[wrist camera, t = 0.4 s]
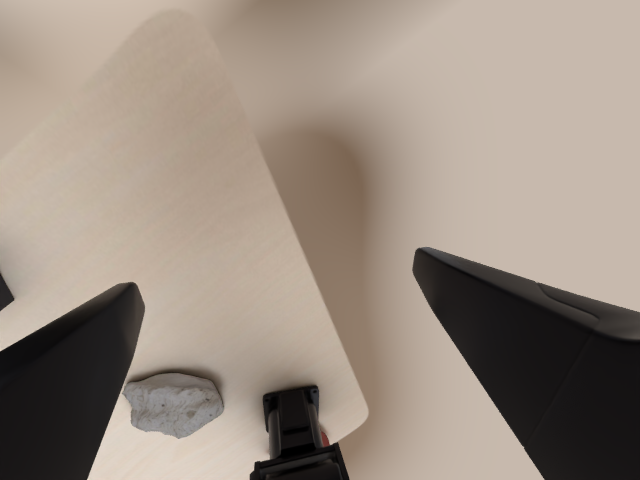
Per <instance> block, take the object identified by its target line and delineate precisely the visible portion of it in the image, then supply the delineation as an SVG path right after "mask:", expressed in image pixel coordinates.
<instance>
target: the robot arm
mask: <svg viewBox="0 0 640 480" xmlns="http://www.w3.org/2000/svg"><path fill="white" fill-rule="evenodd" d="M413 274H414V276H415V278H416V281H417V282H418V284H419V286H420V288H421V290H422V292H423V294H424V296H425V298H426V300H427V302H428V304H429V305H430V307H431V309H432V311H433V312H434V314H435V315H436V317H437V318H438V320H439V321H440V323H441V324H442V326H443V327H444V329H445V330H446V332H447V333H448V335H449V336H450V338H451V339H452V341H453V342H454V344H455V345H456V347H457V348H458V350H459V351H460V353H461V354H462V356H463V357H464V359H465V360H466V362H467V363H468V365H469V366H470V368H471V369H472V371H473V372H474V374H475V375H476V377H477V378H478V380H479V381H480V383H481V385H482V386H483V387H484V389H485V390H486V392H487V393H488V395H489V397H490V398H491V399H492V401H493V402H494V404H495V406H496V407H497V408H498V410H499V412H500V413H501V415H502V416H503V418H504V419H505V421H506V422H507V424H508V425H509V427H510V428H511V429H512V431H513V432H514V434H515V436H516V437H517V438H518V440H519V442H520V443H521V445H522V446H523V447H524V449H525V451H526V452H527V454H528V455H529V457H530V458H531V460H532V461H533V463H534V464H535V466H536V467H537V469H538V470H539V472H540V473H541V475H542V476H543V478H544V479H545V480H640V312H637V311H633V310H630V309H626V308H623V307H619V306H615V305H612V304H608V303H605V302H601V301H598V300H594V299H591V298H587V297H584V296H580V295H577V294H574V293H570V292H567V291H564V290H561V289H558V288H554V287H551V286H548V285H545V284H542V283H536V282H535V281H532V280H529V279H526V278H523V277H520V276H517V275H514V274H511V273H507V272H504V271H501V270H498V269H495V268H492V267H489V266H486V265H483V264H480V263H477V262H474V261H470V260H467V259H464V258H461V257H458V256H455V255H452V254H449V253H446V252H443V251H439V250H436V249H433V248H430V247H423V248H418V249H417V250H416V252H415V256H414V262H413ZM144 312H145V305H144V302H143V299H142V296H141V294H140V291H139V289H138V286H137V285H136V283H134V282H128V283H120V284H117V285H115V286H114V287H112V288H110V289H108V290H107V291H105V292H103V293H101V294H100V295H98V296H96V297H94V298H93V299H91V300H89V301H87V302H86V303H84V304H82V305H80V306H79V307H77V308H75V309H73V310H72V311H70V312H68V313H67V314H65V315H63V316H61V317H60V318H58V319H56V320H54V321H53V322H51V323H49V324H47V325H46V326H44V327H42V328H40V329H39V330H37V331H35V332H33V333H32V334H30V335H28V336H26V337H25V338H23V339H21V340H20V341H18V342H16V343H14V344H13V345H11V346H9V347H7V348H6V349H4V350H2V351H0V480H87V478H88V476H89V473H90V470H91V468H92V465H93V463H94V460H95V457H96V455H97V452H98V449H99V447H100V444H101V441H102V439H103V436H104V434H105V431H106V428H107V426H108V423H109V420H110V418H111V415H112V413H113V410H114V407H115V405H116V402H117V399H118V397H119V394H120V391H121V389H122V386H123V384H124V381H125V378H126V376H127V373H128V370H129V368H130V365H131V362H132V359H133V356H134V353H135V349H136V345H137V341H138V337H139V333H140V329H141V325H142V321H143V317H144ZM263 406H264V415H265V424H266V431H267V432H269V450H270V460H266V461H262V462H260V461H257V462H255V466H254V471H253V472H252V473H251V474H250V480H349V476H348V473H347V470H346V467H345V464H344V460H343V457H342V454H341V451H340V447H339V444H338V442H337V443H333V445H329V446H325V447H324V446H323V441H322V436H321V431H320V426H319V421H318V411H319V389H318V387H317V386H311V387H305V388H299V389H294V390H288V391H282V392H277V393H271V394H266V395H264V396H263Z"/></svg>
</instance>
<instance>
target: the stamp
mask: <svg viewBox="0 0 640 480" xmlns="http://www.w3.org/2000/svg"><path fill="white" fill-rule="evenodd" d="M12 301H14V298H13V296H12V295H11V293H10V291H9V289H8V287H7V286H6V284H5V282H4V280H3V278H2V277H1V275H0V311H1V310H2V309H3V308H5V307H6V306H7V305H9V304H10V303H11V302H12Z"/></svg>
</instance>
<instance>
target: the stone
mask: <svg viewBox="0 0 640 480" xmlns="http://www.w3.org/2000/svg"><path fill="white" fill-rule="evenodd" d="M122 394H123V395H124V396H125V397H126V399H127V400H128V401H129V403H131V406H132V411H131V424H132V425H133V426H134V427H136V428H138V429H140V430H143V431H145V432H149V431H158V432H162V433H163V434H165V435H172V436H175V437H176V438H178V439H180V438H183V437H187V436H189V435H191V434H192V433H194V432H195V431H198V430H199V429H201V428H202V427H203V426H204V425H205V424H207V423H208V422H211V421H212V420H213V419H215V418H217V417H218V416H220V415H221V414H222V413H223V410H224V406H223V405H222V401H221V397H220V396H219V394H218V392H217V389H216V387H215V386H214V384H213V383H212V381H210V380H208V379H204V378H199V377H194V376H191V375H184V374H180V373H169V374H159V375H155V376H152V377H150V378H147V379H145V380H142V381H139V382H129V383H128V384H126V386H125V388H124V391H123V393H122Z"/></svg>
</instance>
